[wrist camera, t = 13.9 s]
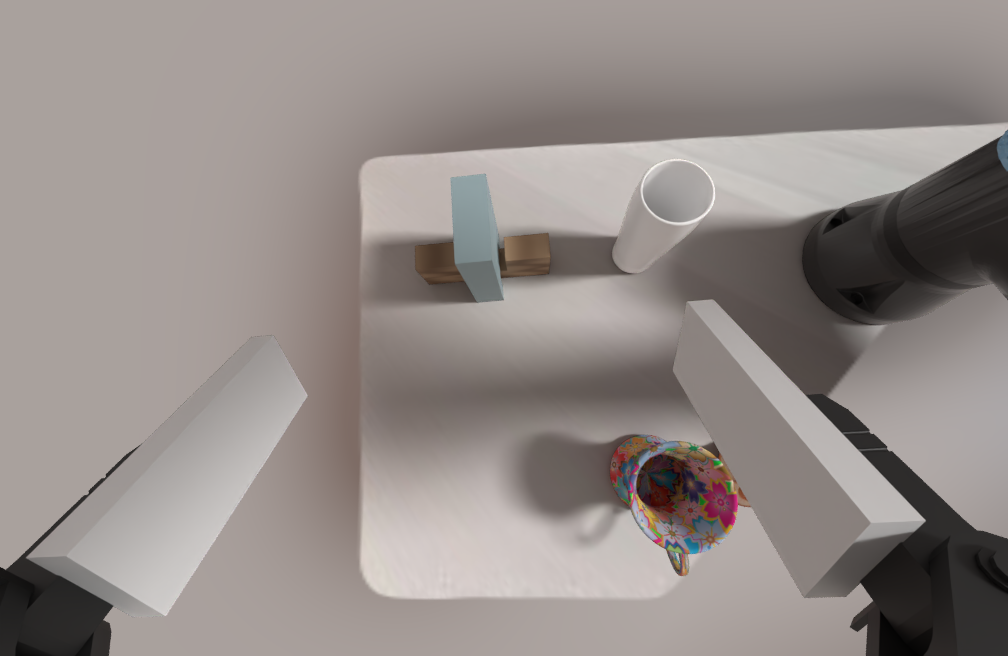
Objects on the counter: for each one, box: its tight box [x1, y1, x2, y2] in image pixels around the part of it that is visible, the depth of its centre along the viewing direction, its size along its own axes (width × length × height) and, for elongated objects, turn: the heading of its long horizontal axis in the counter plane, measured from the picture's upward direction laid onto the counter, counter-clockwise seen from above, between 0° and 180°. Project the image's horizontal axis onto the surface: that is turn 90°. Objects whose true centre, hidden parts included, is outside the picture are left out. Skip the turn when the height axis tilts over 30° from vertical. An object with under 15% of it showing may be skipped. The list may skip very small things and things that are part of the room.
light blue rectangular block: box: [451, 174, 504, 302], centre depth 41 cm, size 4×9×14 cm, turn 4°
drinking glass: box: [612, 159, 715, 273], centre depth 39 cm, size 7×7×15 cm
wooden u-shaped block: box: [415, 233, 551, 284], centre depth 45 cm, size 16×3×6 cm, turn 94°
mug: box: [610, 435, 738, 576], centre depth 36 cm, size 12×9×11 cm
